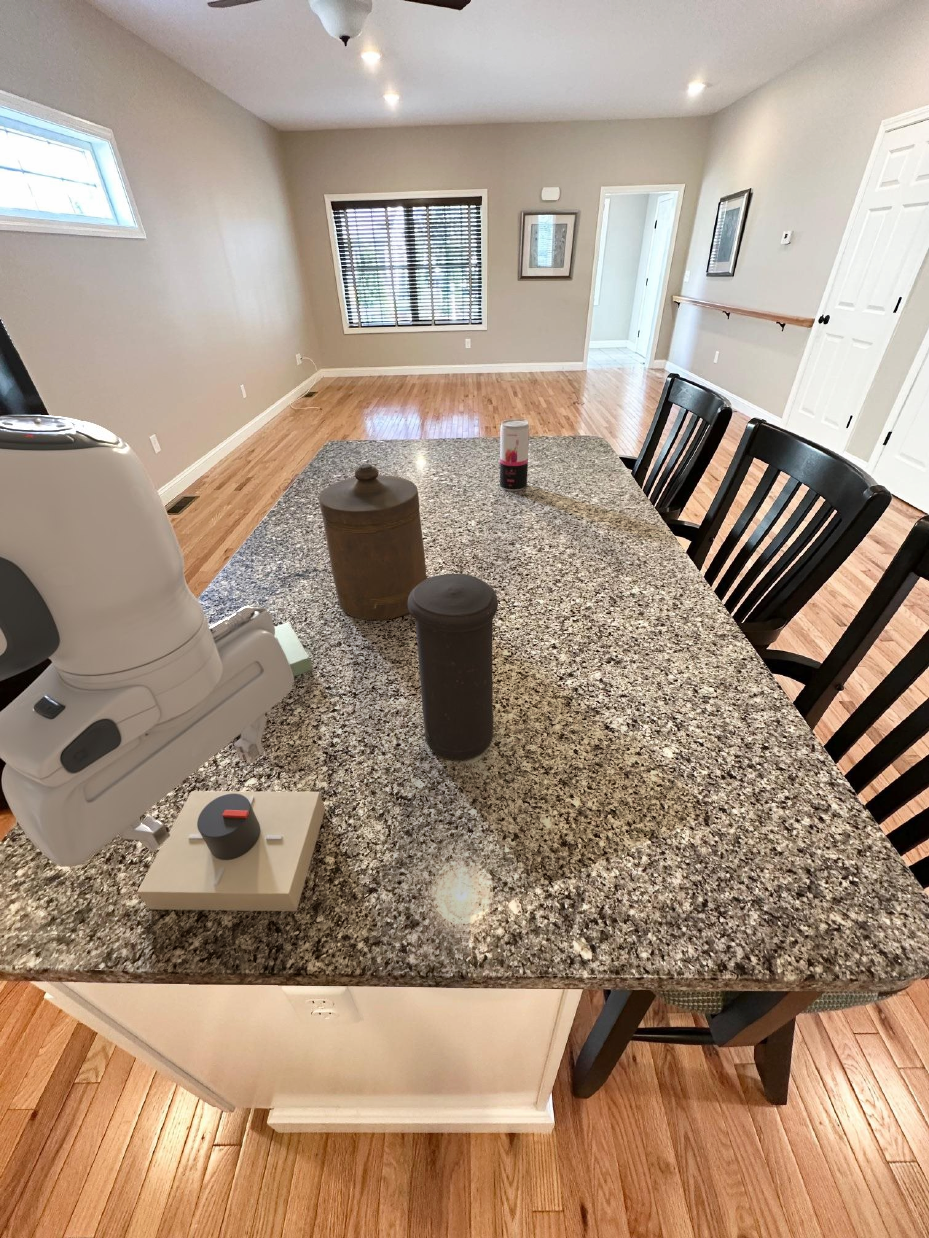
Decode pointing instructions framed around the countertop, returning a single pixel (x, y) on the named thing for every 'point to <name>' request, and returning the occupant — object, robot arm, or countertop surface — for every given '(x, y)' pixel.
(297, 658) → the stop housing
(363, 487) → the wooden container
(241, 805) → the timer knob
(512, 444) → the beverage can
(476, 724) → the container
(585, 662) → the countertop surface
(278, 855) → the panel
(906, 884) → the countertop surface
